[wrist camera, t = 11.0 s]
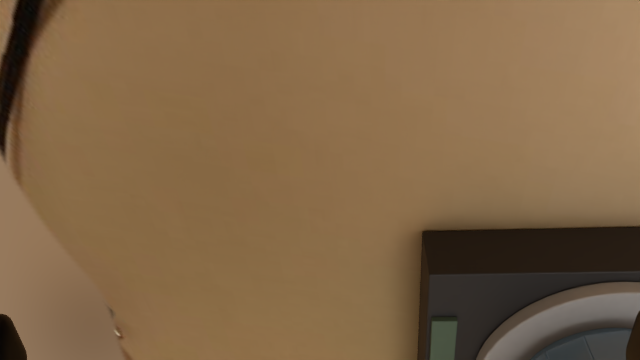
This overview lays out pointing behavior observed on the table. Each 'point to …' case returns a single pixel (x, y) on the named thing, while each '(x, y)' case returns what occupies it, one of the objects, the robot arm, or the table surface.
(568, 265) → the scale
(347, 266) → the table surface
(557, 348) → the bowl
